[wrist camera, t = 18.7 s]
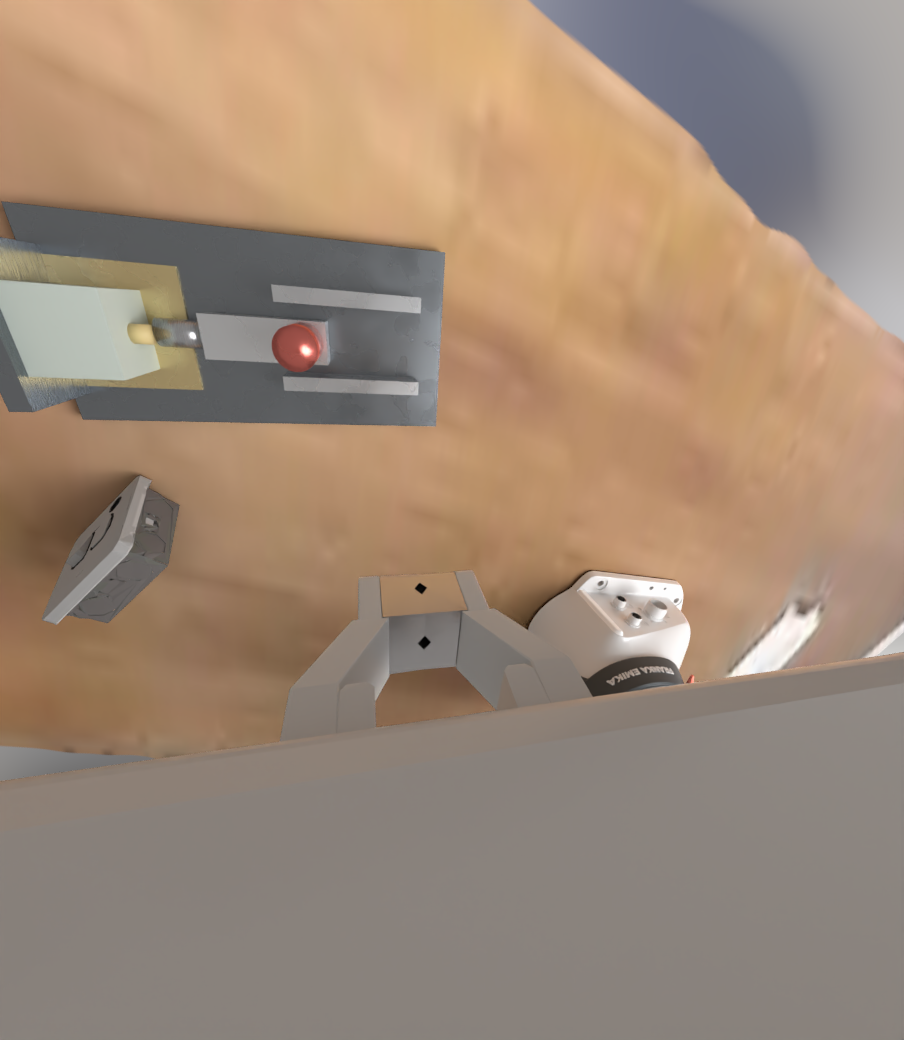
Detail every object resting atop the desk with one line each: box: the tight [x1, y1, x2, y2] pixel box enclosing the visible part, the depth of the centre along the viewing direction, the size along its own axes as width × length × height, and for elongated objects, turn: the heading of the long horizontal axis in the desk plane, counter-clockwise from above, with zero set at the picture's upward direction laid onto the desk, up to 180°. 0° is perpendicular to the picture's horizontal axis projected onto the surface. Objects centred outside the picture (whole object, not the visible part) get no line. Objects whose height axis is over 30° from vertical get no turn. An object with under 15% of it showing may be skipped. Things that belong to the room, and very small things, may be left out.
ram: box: [152, 312, 331, 372], centre depth 26 cm, size 11×3×7 cm, turn 86°
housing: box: [0, 280, 160, 380], centre depth 25 cm, size 6×5×5 cm
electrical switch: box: [42, 475, 179, 625], centre depth 31 cm, size 9×5×9 cm, turn 129°
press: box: [0, 201, 445, 426], centre depth 27 cm, size 27×13×7 cm, turn 86°
